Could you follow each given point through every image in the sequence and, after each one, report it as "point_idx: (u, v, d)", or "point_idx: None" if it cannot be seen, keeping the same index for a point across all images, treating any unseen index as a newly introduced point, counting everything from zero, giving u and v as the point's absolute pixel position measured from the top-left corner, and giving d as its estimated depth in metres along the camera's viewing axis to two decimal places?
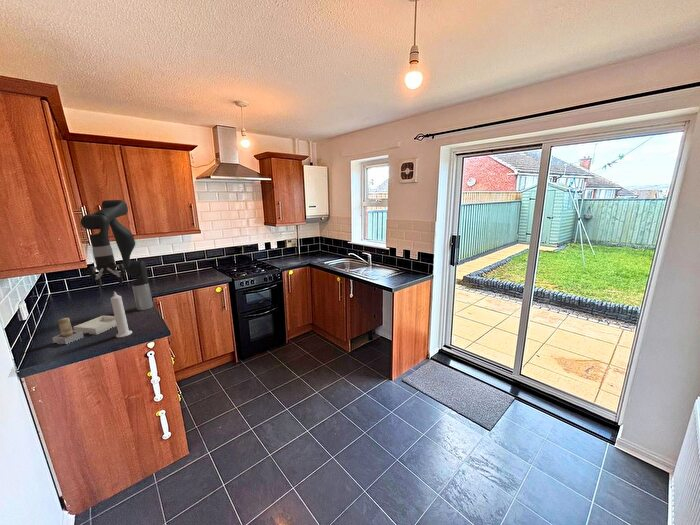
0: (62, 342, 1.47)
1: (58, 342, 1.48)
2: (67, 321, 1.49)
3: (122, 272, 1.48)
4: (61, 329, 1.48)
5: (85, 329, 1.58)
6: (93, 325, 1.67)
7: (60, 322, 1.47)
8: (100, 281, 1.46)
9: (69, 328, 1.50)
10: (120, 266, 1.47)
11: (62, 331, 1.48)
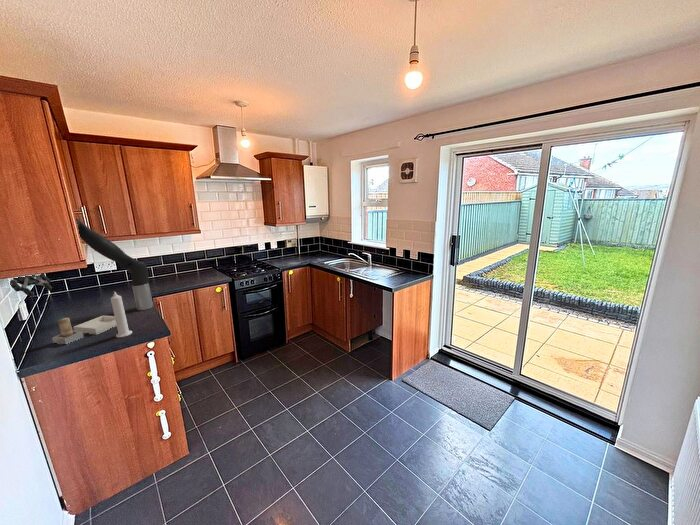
0: (62, 342, 1.47)
1: (58, 342, 1.48)
2: (67, 321, 1.49)
3: None
4: (61, 329, 1.48)
5: (85, 329, 1.58)
6: (93, 325, 1.67)
7: (60, 322, 1.47)
8: (46, 287, 1.51)
9: (69, 328, 1.50)
10: None
11: (62, 331, 1.48)
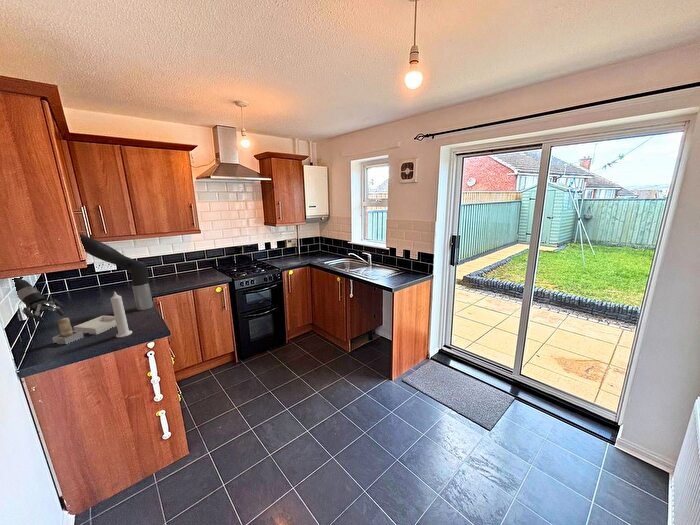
0: (62, 342, 1.47)
1: (58, 342, 1.48)
2: (67, 321, 1.49)
3: None
4: (61, 329, 1.48)
5: (85, 329, 1.58)
6: (93, 325, 1.67)
7: (60, 322, 1.47)
8: (58, 312, 1.54)
9: (69, 328, 1.50)
10: None
11: (62, 331, 1.48)
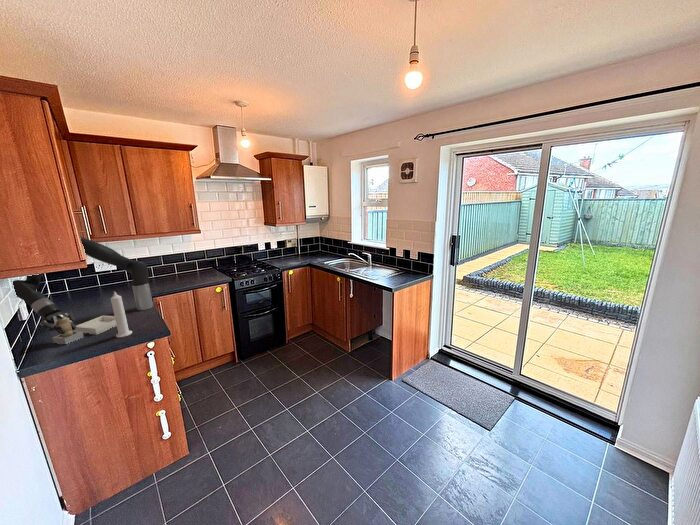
0: (62, 342, 1.47)
1: (58, 342, 1.48)
2: (67, 321, 1.49)
3: None
4: None
5: (85, 329, 1.58)
6: (93, 325, 1.67)
7: (60, 322, 1.47)
8: None
9: (69, 328, 1.50)
10: None
11: None
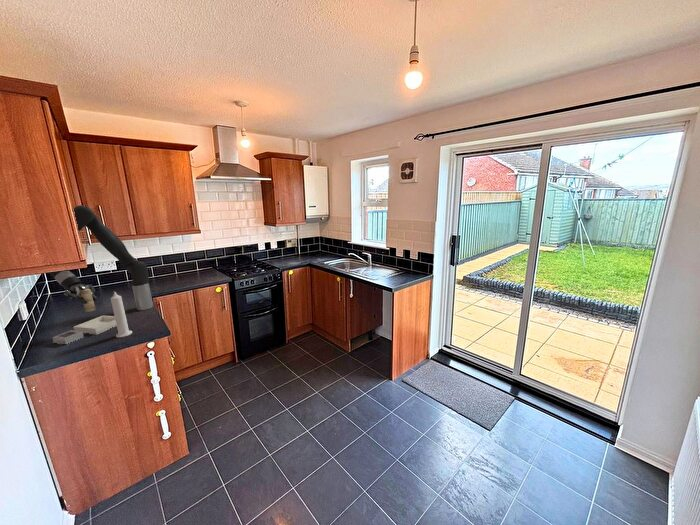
0: (62, 342, 1.47)
1: (58, 342, 1.48)
2: (89, 292, 1.58)
3: None
4: None
5: (85, 329, 1.58)
6: (93, 325, 1.67)
7: (82, 292, 1.56)
8: None
9: (91, 299, 1.59)
10: None
11: None
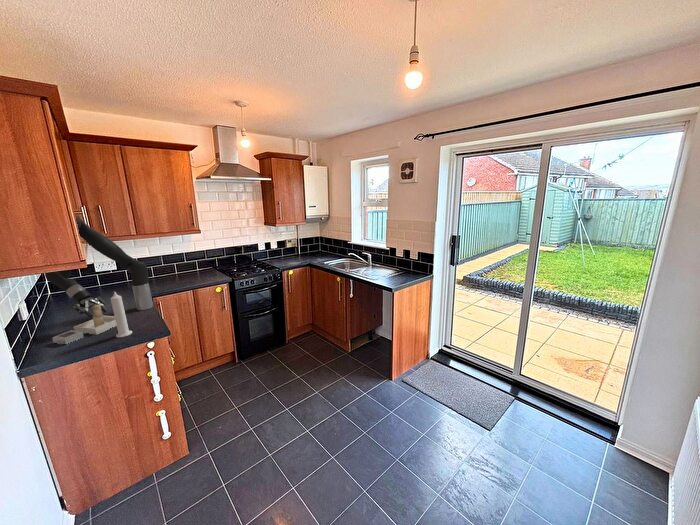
0: (62, 342, 1.47)
1: (58, 342, 1.48)
2: (99, 308, 1.64)
3: None
4: None
5: (85, 329, 1.58)
6: (93, 325, 1.67)
7: (93, 308, 1.62)
8: (102, 309, 1.68)
9: (100, 315, 1.65)
10: None
11: (94, 317, 1.63)
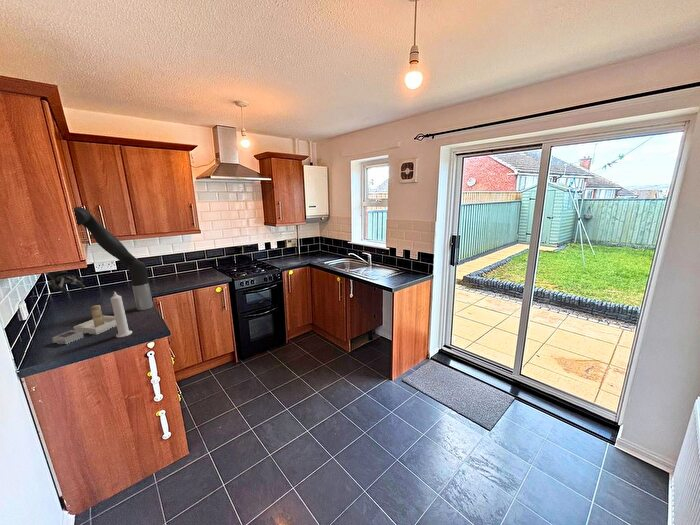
0: (62, 342, 1.47)
1: (58, 342, 1.48)
2: (98, 308, 1.64)
3: None
4: (93, 315, 1.63)
5: (85, 329, 1.58)
6: (93, 325, 1.67)
7: (92, 309, 1.62)
8: (80, 285, 1.68)
9: (100, 315, 1.65)
10: None
11: (94, 317, 1.63)
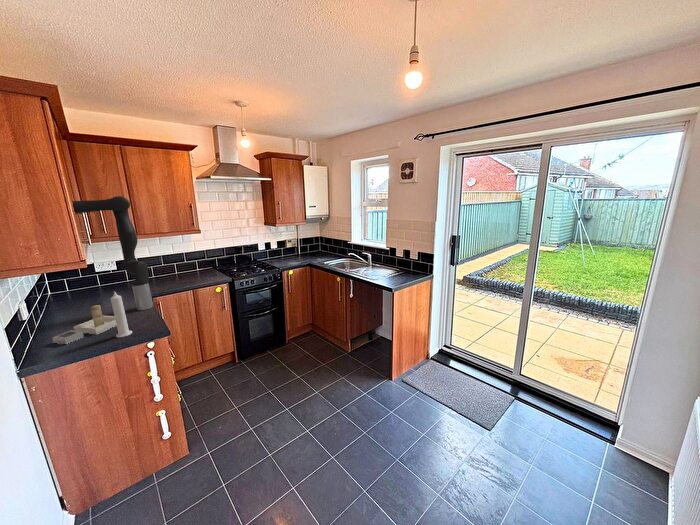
0: (62, 342, 1.47)
1: (58, 342, 1.48)
2: (98, 308, 1.64)
3: None
4: (93, 315, 1.63)
5: (85, 329, 1.58)
6: (93, 325, 1.67)
7: (92, 309, 1.62)
8: None
9: (100, 315, 1.65)
10: None
11: (94, 317, 1.63)
